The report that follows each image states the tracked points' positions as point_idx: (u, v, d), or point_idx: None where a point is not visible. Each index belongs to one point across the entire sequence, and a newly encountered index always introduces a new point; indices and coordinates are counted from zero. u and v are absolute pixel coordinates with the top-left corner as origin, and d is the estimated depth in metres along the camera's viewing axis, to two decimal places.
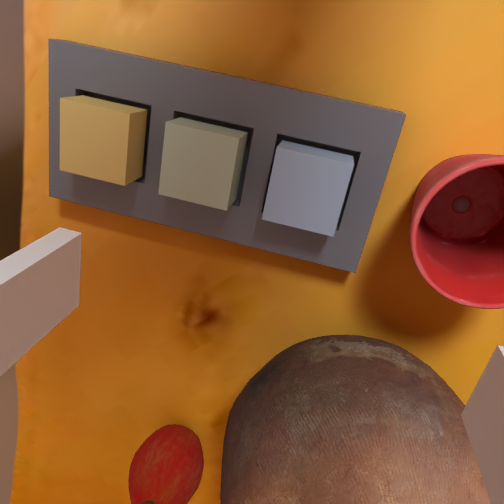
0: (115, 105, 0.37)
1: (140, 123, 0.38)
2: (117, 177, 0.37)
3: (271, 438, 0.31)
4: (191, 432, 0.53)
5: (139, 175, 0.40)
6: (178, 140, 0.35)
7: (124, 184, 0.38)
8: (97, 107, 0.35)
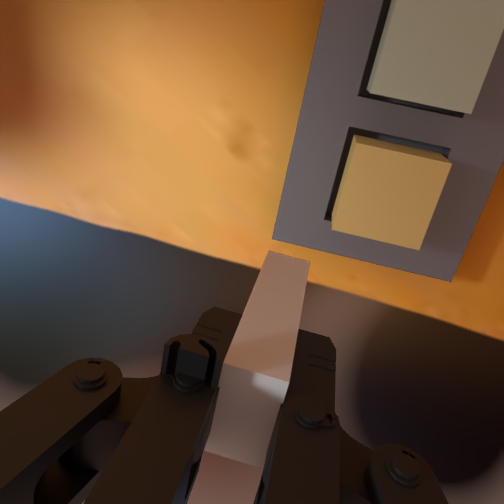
0: (345, 170, 0.31)
1: (369, 140, 0.30)
2: (438, 173, 0.28)
3: None
4: None
5: (437, 153, 0.30)
6: (397, 76, 0.26)
7: (450, 164, 0.27)
8: (345, 184, 0.29)
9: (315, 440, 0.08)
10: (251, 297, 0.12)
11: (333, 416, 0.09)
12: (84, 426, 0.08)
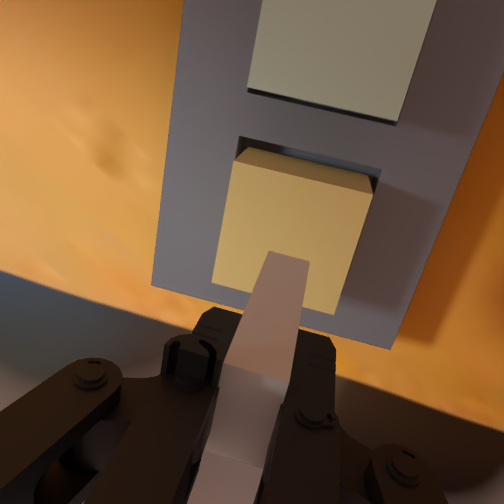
0: None
1: (264, 156, 0.21)
2: (354, 208, 0.19)
3: None
4: None
5: (362, 176, 0.21)
6: (284, 62, 0.17)
7: (370, 195, 0.18)
8: (224, 220, 0.20)
9: (315, 440, 0.08)
10: (251, 297, 0.12)
11: (333, 416, 0.09)
12: (84, 426, 0.08)
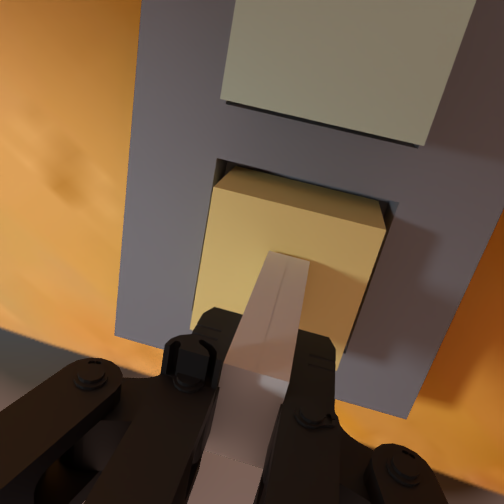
0: None
1: (253, 178, 0.17)
2: (362, 245, 0.15)
3: None
4: None
5: (372, 203, 0.17)
6: (269, 65, 0.12)
7: (382, 230, 0.15)
8: (203, 258, 0.16)
9: (315, 440, 0.08)
10: (251, 297, 0.12)
11: (333, 416, 0.09)
12: (84, 426, 0.08)
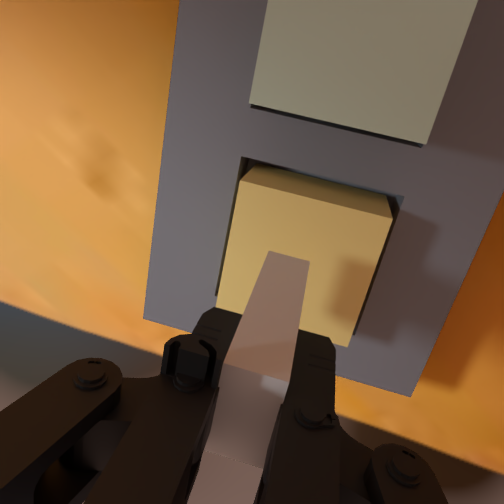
0: None
1: (274, 174, 0.19)
2: (371, 232, 0.17)
3: None
4: None
5: (380, 197, 0.19)
6: (292, 74, 0.14)
7: (389, 219, 0.17)
8: (229, 244, 0.18)
9: (315, 440, 0.08)
10: (251, 297, 0.12)
11: (333, 416, 0.09)
12: (84, 426, 0.08)
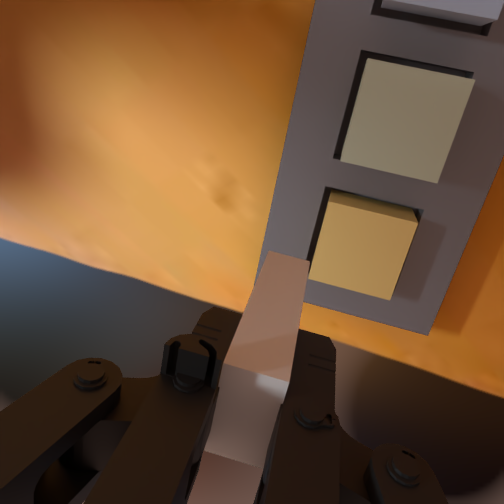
0: None
1: (344, 196, 0.32)
2: (405, 231, 0.30)
3: None
4: None
5: (408, 209, 0.32)
6: (365, 146, 0.27)
7: (416, 223, 0.29)
8: (320, 238, 0.31)
9: (315, 440, 0.08)
10: (251, 297, 0.12)
11: (333, 416, 0.09)
12: (84, 426, 0.08)
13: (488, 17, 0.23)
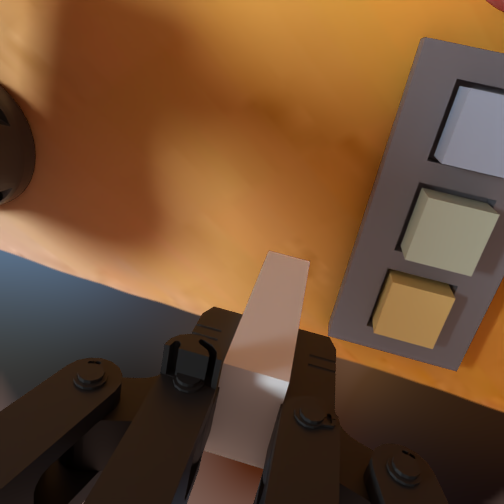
0: (383, 292, 0.46)
1: (400, 275, 0.45)
2: (446, 303, 0.43)
3: None
4: None
5: (446, 284, 0.45)
6: (423, 251, 0.40)
7: (454, 298, 0.42)
8: (384, 306, 0.44)
9: (315, 440, 0.08)
10: (251, 297, 0.12)
11: (333, 416, 0.09)
12: (84, 426, 0.08)
13: None
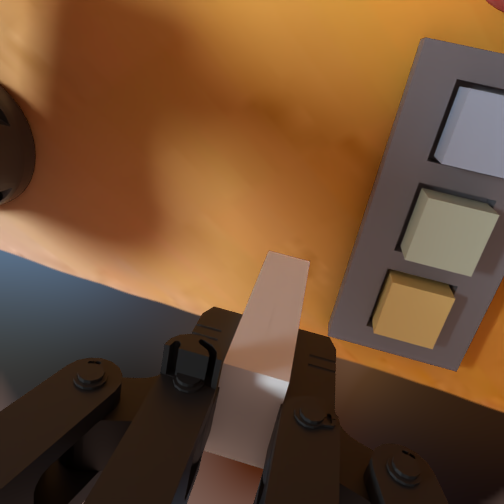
0: (383, 292, 0.46)
1: (400, 275, 0.45)
2: (446, 303, 0.43)
3: None
4: None
5: (445, 284, 0.45)
6: (422, 251, 0.40)
7: (453, 298, 0.42)
8: (384, 306, 0.44)
9: (315, 440, 0.08)
10: (251, 297, 0.12)
11: (333, 416, 0.09)
12: (84, 426, 0.08)
13: None
